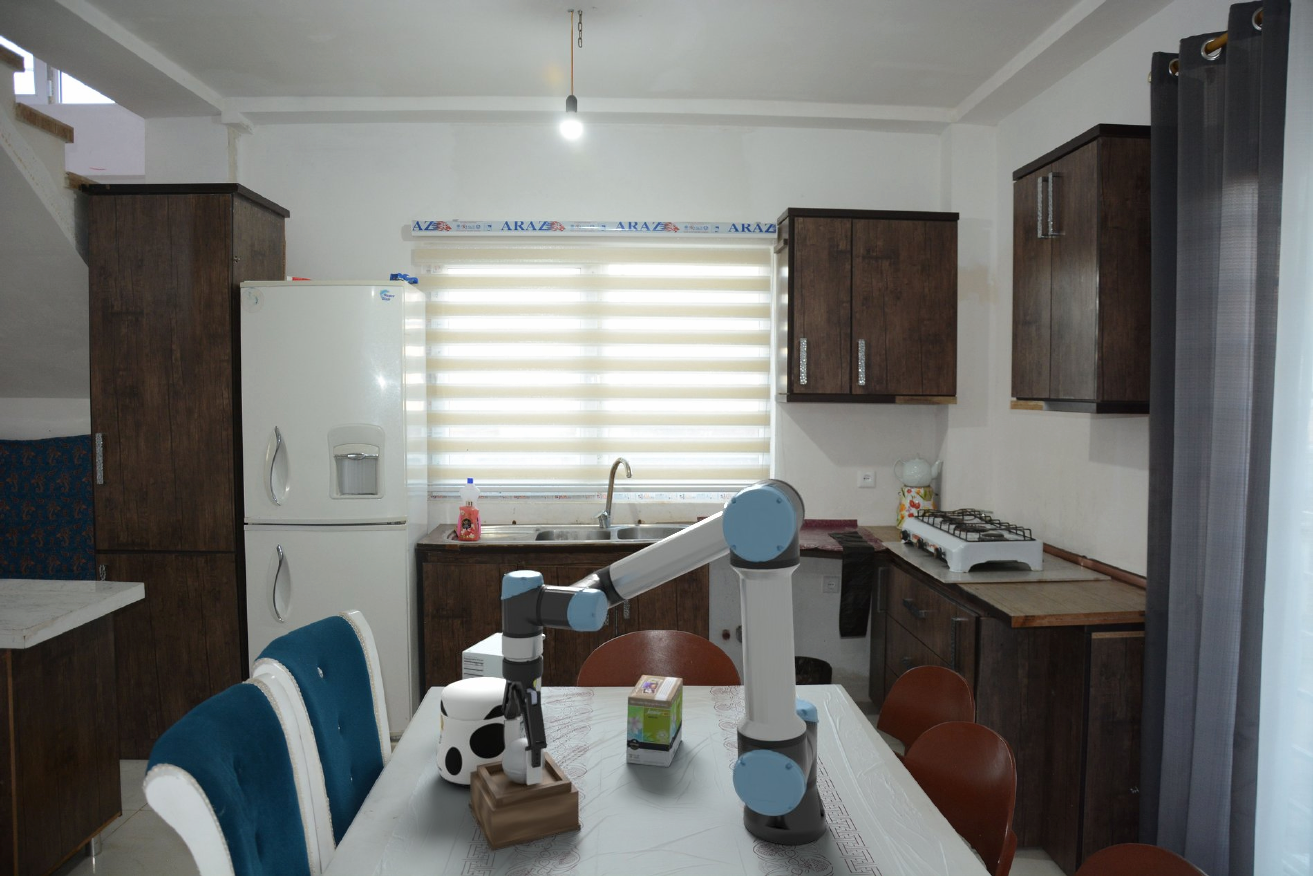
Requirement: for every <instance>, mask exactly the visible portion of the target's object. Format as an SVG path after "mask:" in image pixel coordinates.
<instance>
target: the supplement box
mask: <svg viewBox="0 0 1313 876" xmlns="http://www.w3.org/2000/svg"><path fill="white" fill-rule="evenodd" d="M461 656H462V660H461V662H462V663H461V665H462V666H461V667H462V669H461V670H462V679H461V680H465V679H469V678H479V677H494V678H500V679H505V678H504V677H503V675H502V658H503V657H504V656H503V655H502V632H496V633H493V634H492V635H490V636H489V637H487V638H485V639H483V640H481V641H479V642H478V643H476V644H474V645H472V646H471V647H468V648H466V649H465V650H463V651H462V654H461ZM505 680H506V679H505ZM533 684H534V687H536V691H540V692H541V693H542V676H541V677H540V678H537V679H536V680H535V681H534V683H533ZM532 705H533V704H532ZM521 715H522V714H521ZM517 718H519V719H520V724H521V723H523V717H522V716H519V717H517Z"/></svg>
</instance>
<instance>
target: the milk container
mask: <svg viewBox="0 0 1313 876" xmlns="http://www.w3.org/2000/svg"><path fill="white" fill-rule="evenodd" d="M505 684H506V680H505V679H500V678H494V677H479V678H469V679H465V680H462V679H461V680H458V681H455V682H452V683H449V684H448V685H447V686H445V687H444V688H442V692H441V696H440V705H439V706H440V707H439V708H440V736H439V740H438V744H437V747H436V748H437V749H436V753H435V754H436V757H435V758H436V765H437V769H438V772H439V774H440V775H441V777H442V779H444V780H445V781H447V782H448V783H451V784H452V785H456V786H457V785H458V786H461V787H470V772H474V771H477V765H482V764H487V763H492V762H497V761H502V758H503V754H504V752H505V720H507V719H505V717H504V713H505V712H502V710H501V709H502V703H503V697H504V690H505ZM516 718H517V717H516Z"/></svg>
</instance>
